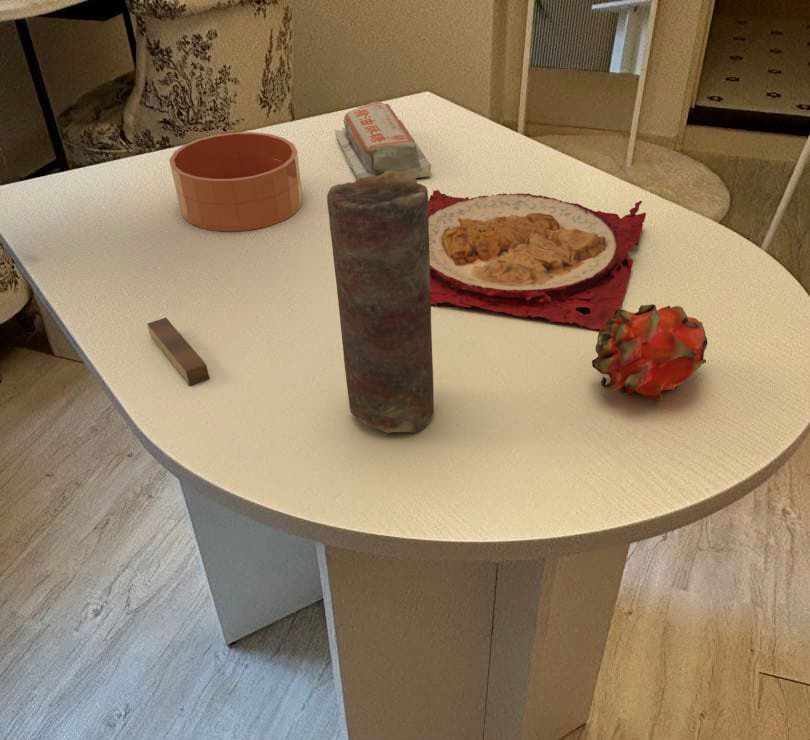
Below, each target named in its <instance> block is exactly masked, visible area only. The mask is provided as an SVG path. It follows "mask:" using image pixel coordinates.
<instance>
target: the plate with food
mask: <svg viewBox="0 0 810 740" xmlns="http://www.w3.org/2000/svg"><path fill="white" fill-rule="evenodd" d="M642 203H643V201H642V200H639V201H637V202H635V203H634V207H632V208H631V209H629V214H624V216H622V217H620V216H619V214H617V213H613V212H604V211H601V210H597V211H595V210H593V209H589V208H588V207H586V206H583V205H582V204H579V203H577V202H576V203H574V202H568V201H562V200H559V199H557V198H555V197H549V196H545V195H541V194H539V195H536V194H531V193H523V192H522V193H520V192H518V193H497V194H492V195H478V196H474V197H471V198H470V197H469V196H467V197H459V196H458V197H457V196H451V195H447V194H446V193H441V191H440V190H439V189H436V190H433V191H432V194H430V197H429V198H428V217H429V253H430V299H431V305H434V306H438V304H444V303H448V304H451V305H452V306H453V305H455V306H458V307H465V308H472V306H473V307H477V308H480V309H483V310H488V311H493V312H497V313H506V314H508V315H509V314H510V315H513V316H515V317H520V318H521V317H522V318H523V317H525V318H527V317H531V318H536V317H540V318H542V319H543V318H544V319H547V320H548V321H549V322H553V323H557V322H559V323H569V324H570V325H572V324H573V323H576V324H577V325H578V326H580V327H586V328H588V329H590V330H599V331H600V330H602V329H603V328H605V324H606V322H607V321H608V320H612V319H613V314H614V311H615V310H616V309H622V307H623V302H624V299H625V295H626V292H627V289H628V288H627V287H628V284H629V281H630V276H631V273H632V269H633V264H634V259H633V258H630V257H629V256H628V253H629V252H630V251H631V250H632V249H633V246H636V247H638V246H639V243H640V239H641V235H642V232H643V227H644V223H645V221H646V217H647V212H642V213H638V212H639V210H640V205H641V204H642ZM637 213H638V214H637ZM578 308H588V309H589V312H590V313H588V314H583V313H581V312H580V311H578V310H577V309H578Z"/></svg>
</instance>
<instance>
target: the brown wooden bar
mask: <svg viewBox="0 0 810 740" xmlns="http://www.w3.org/2000/svg"><path fill="white" fill-rule="evenodd" d="M146 325H147V329H148V333H149V336H150V338H151V340H152V341H153V342H154V344H156V346H157V347H158V348H159V350H160V351H161V352H162V354H163V355H164V356H165V357H166V358H167V359H168V361H169V362H170V363H171V365H173V367H174V368H175V369H176V371H177V372H178V373H179V374H180V376H181V377H182V378H183V379H184V381H185V382H186V383H187V384H188V385H189V386H193V385H196V384H198V383H201V382H204V381H207V380H209V379H210V375H209V370H208V366H207V363H205V361H204V360H203V359H202V358H201V356H200V355H199V354H198V353H197V352H196V351H195V350H194V349H193V347H192V346H191V345H190V343H188V341H187V340H186V339H185V338H184V336H183V335H182V334H181V333H180V331H178V330H177V329H176V327H175V326H174V325H173V324H172V323H171V321H170V320H169V319H168V318H167V317H163V318H160V319H156V320H154V321H150V322H147V323H146Z"/></svg>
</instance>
